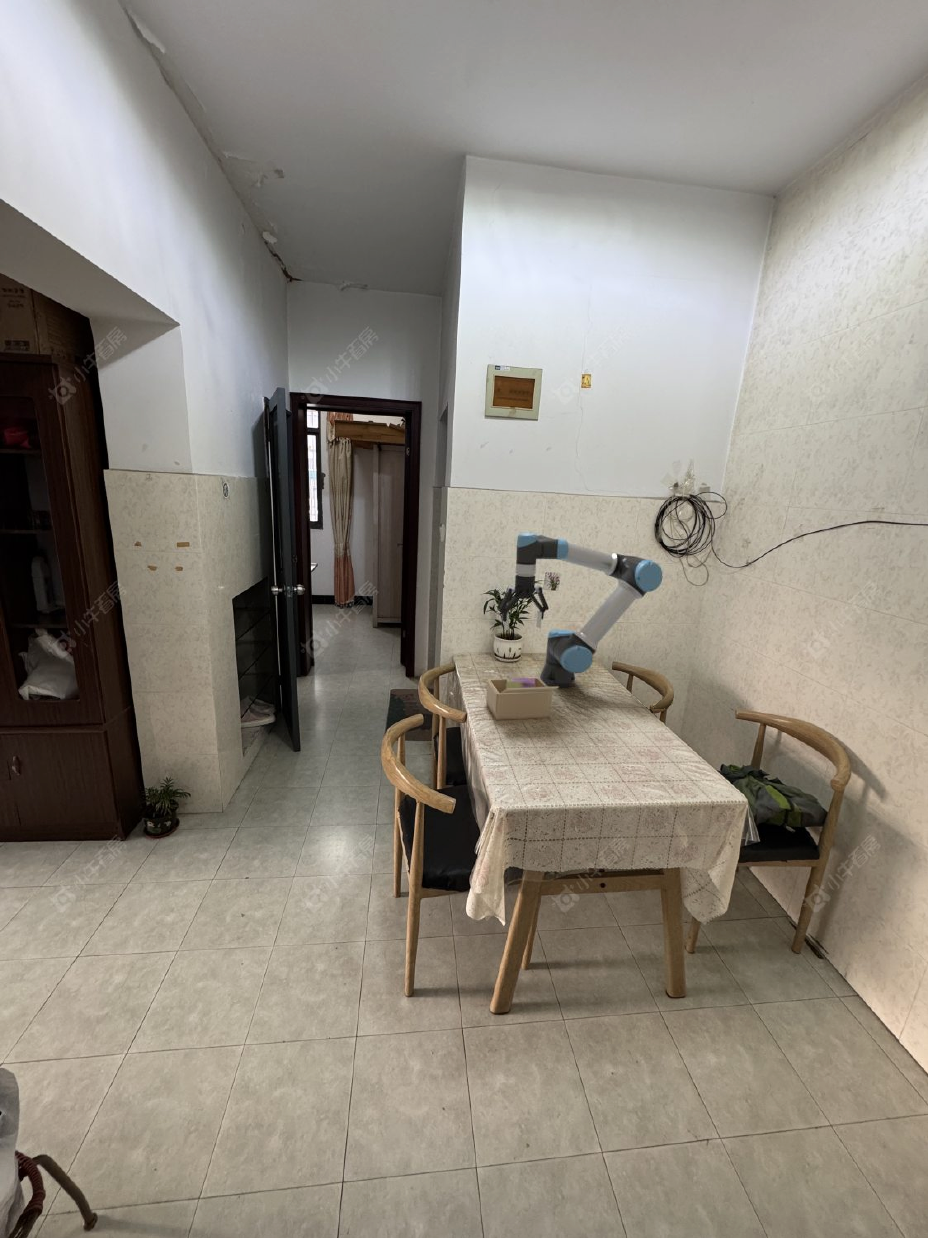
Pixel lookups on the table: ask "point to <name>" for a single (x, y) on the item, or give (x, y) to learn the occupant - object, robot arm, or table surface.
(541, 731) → the table surface
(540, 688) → the flap
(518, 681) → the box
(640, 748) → the table surface
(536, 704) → the carton
